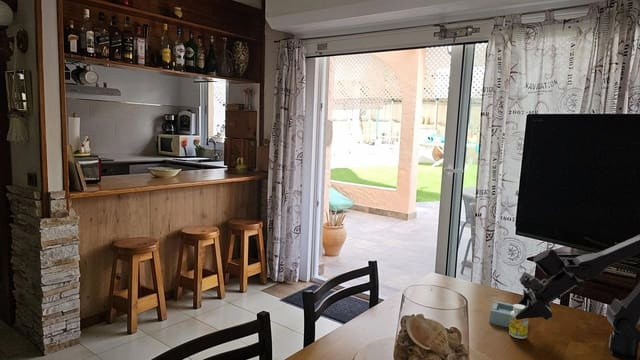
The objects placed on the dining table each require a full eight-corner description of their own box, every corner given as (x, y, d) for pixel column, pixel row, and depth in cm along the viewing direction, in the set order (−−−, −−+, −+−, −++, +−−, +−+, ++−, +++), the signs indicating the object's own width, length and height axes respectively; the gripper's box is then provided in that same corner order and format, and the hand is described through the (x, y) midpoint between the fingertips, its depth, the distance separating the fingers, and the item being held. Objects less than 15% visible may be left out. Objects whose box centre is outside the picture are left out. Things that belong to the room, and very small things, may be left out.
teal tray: (523, 319, 151) (525, 307, 151) (521, 330, 142) (522, 317, 142) (493, 312, 156) (494, 300, 155) (489, 322, 147) (490, 310, 147)
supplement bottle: (530, 337, 137) (533, 308, 136) (519, 340, 135) (521, 311, 134) (516, 329, 142) (518, 302, 141) (504, 332, 140) (507, 304, 138)
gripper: (532, 258, 143) (494, 285, 148) (543, 275, 126) (500, 306, 130) (556, 283, 142) (517, 310, 147) (571, 305, 124) (526, 335, 129)
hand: (514, 314), depth 138 cm, fingers closed on supplement bottle, 5 cm apart
